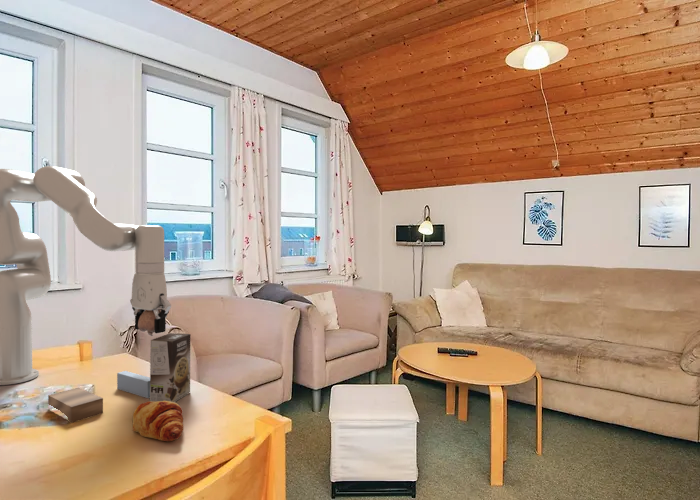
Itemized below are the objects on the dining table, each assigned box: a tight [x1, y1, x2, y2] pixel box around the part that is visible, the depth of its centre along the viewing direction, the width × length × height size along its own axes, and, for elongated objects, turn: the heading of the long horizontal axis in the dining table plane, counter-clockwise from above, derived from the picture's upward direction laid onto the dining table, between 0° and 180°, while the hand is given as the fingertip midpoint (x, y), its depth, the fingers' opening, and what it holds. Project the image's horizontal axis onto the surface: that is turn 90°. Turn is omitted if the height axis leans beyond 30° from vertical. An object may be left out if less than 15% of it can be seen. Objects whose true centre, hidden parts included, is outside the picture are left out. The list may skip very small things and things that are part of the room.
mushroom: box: [138, 310, 161, 337], centre depth 131 cm, size 8×6×8 cm
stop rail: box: [116, 370, 150, 399], centre depth 124 cm, size 13×2×4 cm, turn 60°
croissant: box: [132, 400, 184, 442], centre depth 101 cm, size 21×10×8 cm, turn 44°
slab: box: [47, 387, 104, 424], centre depth 110 cm, size 12×7×4 cm, turn 55°
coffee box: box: [149, 332, 191, 403], centre depth 120 cm, size 9×6×16 cm
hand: (150, 330), depth 131 cm, fingers closed on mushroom, 7 cm apart
